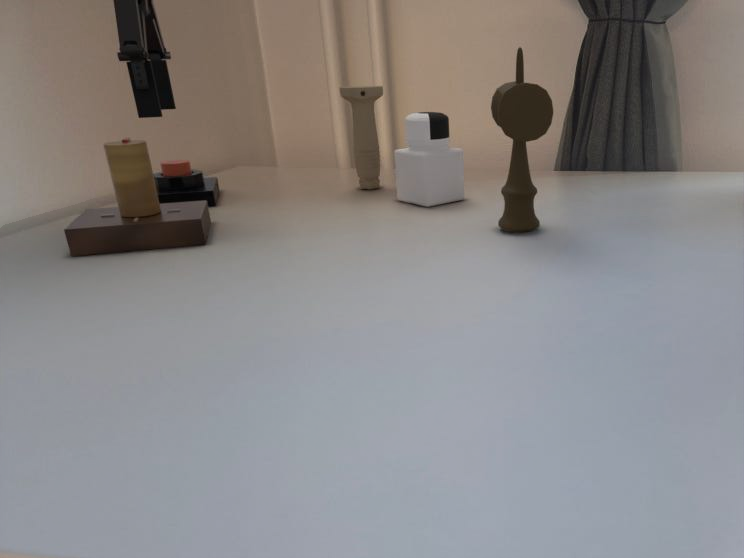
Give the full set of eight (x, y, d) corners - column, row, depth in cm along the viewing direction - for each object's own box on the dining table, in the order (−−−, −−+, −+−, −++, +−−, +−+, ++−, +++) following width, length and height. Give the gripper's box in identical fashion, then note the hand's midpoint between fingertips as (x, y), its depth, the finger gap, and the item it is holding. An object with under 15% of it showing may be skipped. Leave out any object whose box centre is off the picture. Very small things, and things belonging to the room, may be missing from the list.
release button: (161, 179, 98) (158, 164, 97) (164, 174, 101) (161, 160, 100) (191, 177, 99) (188, 162, 98) (193, 173, 102) (190, 159, 101)
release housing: (140, 211, 95) (134, 182, 93) (152, 195, 106) (146, 169, 104) (215, 205, 98) (210, 177, 96) (219, 190, 108) (215, 165, 106)
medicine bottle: (434, 193, 103) (430, 109, 98) (465, 199, 98) (463, 112, 93) (396, 200, 99) (390, 113, 94) (427, 207, 94) (422, 116, 89)
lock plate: (71, 256, 74) (63, 228, 73) (92, 233, 84) (85, 207, 83) (205, 244, 78) (200, 217, 77) (211, 223, 88) (206, 198, 86)
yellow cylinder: (158, 215, 78) (142, 140, 75) (117, 218, 77) (98, 143, 74) (163, 207, 82) (148, 136, 79) (123, 210, 81) (106, 138, 78)
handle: (348, 186, 109) (338, 86, 103) (388, 184, 111) (380, 85, 104) (350, 192, 105) (340, 88, 99) (391, 189, 106) (384, 86, 100)
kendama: (499, 241, 77) (498, 47, 69) (489, 221, 86) (487, 47, 77) (551, 238, 77) (556, 46, 69) (536, 219, 86) (539, 46, 78)
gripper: (134, -88, 73) (176, 119, 82) (166, -56, 95) (196, 105, 104) (57, -90, 71) (109, 122, 80) (108, -57, 93) (144, 107, 102)
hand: (158, 113), depth 92 cm, fingers open, 13 cm apart
